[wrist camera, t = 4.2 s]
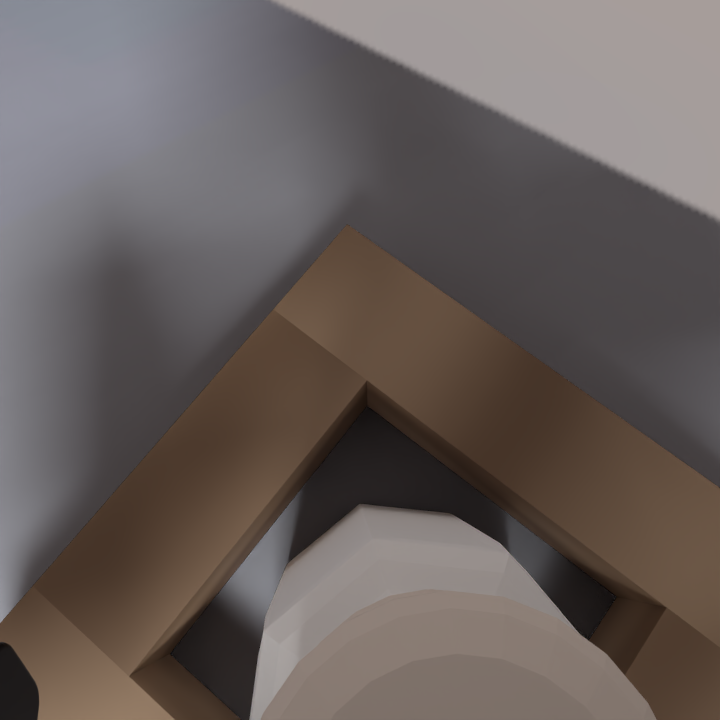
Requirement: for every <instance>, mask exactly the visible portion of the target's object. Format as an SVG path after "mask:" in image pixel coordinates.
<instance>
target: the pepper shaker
mask: <svg viewBox="0 0 720 720" xmlns="http://www.w3.org/2000/svg"><path fill="white" fill-rule="evenodd" d="M250 720H657V719H656V717H655V715H654V714H653V712H652V710H651V708H650V706H649V704H648V702H647V701H646V700H645V699H644V698H643V696H642V695H641V694H640V693H639V692H638V690H637V689H636V688H635V687H634V686H633V685H632V683H631V682H630V681H629V680H628V679H627V677H626V676H625V675H624V674H623V673H622V672H621V670H620V669H619V668H618V667H617V666H616V664H615V663H614V662H613V661H612V660H611V659H610V657H609V656H608V655H607V654H606V653H605V652H603V651H602V650H601V649H599V648H598V647H596V646H595V645H594V644H592V643H591V642H590V641H588V640H587V639H586V638H584V637H583V636H581V635H580V634H579V633H578V631H577V630H576V629H575V628H574V627H573V625H572V624H571V623H570V622H569V621H568V620H567V618H566V617H565V616H564V615H563V614H562V612H561V611H560V610H559V609H558V608H557V606H556V605H555V604H554V603H553V602H552V601H551V599H550V598H549V597H548V596H547V595H546V593H545V592H544V591H543V590H542V589H541V587H540V586H539V585H538V584H537V583H536V582H535V580H534V579H533V578H532V577H531V576H530V574H529V573H528V572H527V571H526V570H525V569H524V568H523V567H522V566H521V565H520V564H519V563H518V561H517V560H516V559H515V558H514V557H513V556H512V555H511V554H510V553H509V552H508V551H507V550H506V549H505V548H504V547H503V546H502V545H501V544H500V543H499V542H497V541H496V540H494V539H492V538H491V537H489V536H487V535H486V534H484V533H482V532H481V531H479V530H477V529H476V528H474V527H472V526H471V525H469V524H467V523H466V522H464V521H462V520H461V519H459V518H457V517H456V516H454V515H453V514H451V513H443V512H433V511H424V510H414V509H405V508H395V507H386V506H377V505H367V504H359V505H357V506H356V507H355V508H354V509H353V510H351V511H350V512H349V513H348V514H347V515H345V516H344V517H343V518H342V519H341V520H339V521H338V522H337V523H336V524H335V525H333V526H332V527H331V528H330V529H329V530H327V531H326V532H325V533H324V534H323V535H321V536H320V537H319V538H318V539H316V540H315V541H314V542H313V543H312V544H310V545H309V546H308V547H307V548H306V549H304V550H303V551H302V552H301V553H300V554H298V555H297V556H296V557H295V558H294V559H292V560H291V561H290V562H289V563H288V564H287V566H286V568H285V570H284V573H283V575H282V578H281V580H280V582H279V585H278V587H277V590H276V592H275V594H274V597H273V599H272V602H271V604H270V606H269V609H268V611H267V614H266V616H265V622H264V631H263V635H262V640H261V645H260V650H259V654H258V661H257V668H256V676H255V683H254V691H253V698H252V705H251V713H250Z"/></svg>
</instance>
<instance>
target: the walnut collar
mask: <svg viewBox="0 0 720 720" xmlns="http://www.w3.org/2000/svg"><path fill="white" fill-rule="evenodd" d="M367 406H368V407H370V408H371V409H372V410H374V411H375V412H376V413H378V414H379V415H380V416H381V417H383V418H384V419H385V420H387V421H388V422H389V423H391V424H392V425H393V426H395V427H396V428H397V429H398V430H400V431H401V432H402V433H404V434H405V435H406V436H408V437H409V438H410V439H411V440H413V441H414V442H415V443H417V444H418V445H419V446H421V447H422V448H423V449H425V450H426V451H427V452H428V453H430V454H431V455H432V456H434V457H435V458H436V459H438V460H439V461H440V462H442V463H443V464H444V465H445V466H447V467H448V468H449V469H451V470H452V471H453V472H455V473H456V474H457V475H459V476H460V477H461V478H462V479H464V480H465V481H466V482H468V483H469V484H470V485H472V486H473V487H474V488H475V489H477V490H478V491H479V492H481V493H482V494H483V495H485V496H486V497H487V498H489V499H490V500H491V501H492V502H494V503H495V504H496V505H498V506H499V507H500V508H502V509H503V510H504V511H506V512H507V513H508V514H509V515H511V516H512V517H513V518H515V519H516V520H517V521H519V522H520V523H521V524H522V525H524V526H525V527H526V528H528V529H529V530H530V531H532V532H533V533H534V534H536V535H537V536H538V537H539V538H541V539H542V540H543V541H545V542H546V543H547V544H549V545H550V546H551V547H553V548H554V549H555V550H556V551H558V552H559V553H560V554H562V555H563V556H564V557H566V558H567V559H568V560H569V561H571V562H572V563H573V564H575V565H576V566H577V567H579V568H580V569H581V570H583V571H584V572H585V573H586V574H588V575H589V576H590V577H592V578H593V579H594V580H596V581H597V582H598V583H600V584H601V585H602V586H603V587H605V588H606V589H607V590H609V591H610V592H611V593H613V594H614V595H615V596H616V597H617V598H616V599H615V601H614V602H613V604H612V605H611V607H610V608H609V610H608V612H607V613H606V615H605V616H604V618H603V619H602V621H601V622H600V624H599V626H598V627H597V629H596V630H595V632H594V633H593V635H592V636H591V638H590V640H589V641H590V642H591V643H592V644H594V645H595V646H596V647H598V648H599V649H601V650H602V651H603V652H605V653H606V654H607V655H608V656H609V657H610V659H611V660H612V661H613V662H614V663H615V664H616V666H617V667H618V668H619V669H620V670H621V672H622V673H623V674H624V675H625V676H626V677H627V679H628V680H629V681H630V682H631V683H632V685H633V686H634V687H635V688H636V689H637V690H638V692H639V693H640V694H641V695H642V696H643V698H644V699H645V700H646V701H647V702H648V704H649V706H650V708H651V710H652V712H653V714H654V715H655V717H656V719H657V720H720V488H719V487H718V486H717V485H715V484H714V483H712V482H711V481H709V480H708V479H707V478H705V477H704V476H702V475H701V474H700V473H698V472H697V471H695V470H694V469H692V468H691V467H690V466H688V465H687V464H685V463H684V462H683V461H681V460H680V459H678V458H677V457H676V456H674V455H673V454H671V453H670V452H668V451H667V450H666V449H664V448H663V447H661V446H660V445H659V444H657V443H656V442H654V441H653V440H651V439H650V438H649V437H647V436H646V435H644V434H643V433H642V432H640V431H639V430H637V429H636V428H635V427H633V426H632V425H630V424H629V423H627V422H626V421H625V420H623V419H622V418H620V417H619V416H618V415H616V414H615V413H613V412H612V411H610V410H609V409H608V408H606V407H605V406H603V405H602V404H601V403H599V402H598V401H596V400H595V399H594V398H592V397H591V396H589V395H588V394H586V393H585V392H584V391H582V390H581V389H579V388H578V387H577V386H575V385H574V384H572V383H571V382H569V381H568V380H567V379H565V378H564V377H562V376H561V375H560V374H558V373H557V372H555V371H554V370H553V369H551V368H550V367H548V366H547V365H545V364H544V363H543V362H541V361H540V360H538V359H537V358H536V357H534V356H533V355H531V354H530V353H528V352H527V351H526V350H524V349H523V348H521V347H520V346H519V345H517V344H516V343H514V342H513V341H512V340H510V339H509V338H507V337H506V336H504V335H503V334H502V333H500V332H499V331H497V330H496V329H495V328H493V327H492V326H490V325H489V324H487V323H486V322H485V321H483V320H482V319H480V318H479V317H478V316H476V315H475V314H473V313H472V312H471V311H469V310H468V309H466V308H465V307H463V306H462V305H461V304H459V303H458V302H456V301H455V300H454V299H452V298H451V297H449V296H448V295H447V294H445V293H444V292H442V291H441V290H439V289H438V288H437V287H435V286H434V285H432V284H431V283H430V282H428V281H427V280H425V279H424V278H422V277H421V276H420V275H418V274H417V273H415V272H414V271H413V270H411V269H410V268H408V267H407V266H406V265H404V264H403V263H401V262H400V261H398V260H397V259H396V258H394V257H393V256H391V255H390V254H389V253H387V252H386V251H384V250H383V249H381V248H380V247H379V246H377V245H376V244H374V243H373V242H372V241H370V240H369V239H367V238H366V237H365V236H363V235H362V234H360V233H359V232H357V231H356V230H355V229H353V228H352V227H350V226H349V225H348V224H347V225H346V226H345V227H344V228H343V230H342V231H341V232H340V233H339V234H338V235H337V236H336V238H335V239H334V240H333V241H332V242H331V243H330V245H329V246H328V247H327V248H326V249H325V250H324V251H323V253H322V254H321V255H320V256H319V257H318V258H317V260H316V261H315V262H314V263H313V264H312V265H311V266H310V268H309V269H308V270H307V271H306V272H305V273H304V274H303V276H302V277H301V278H300V279H299V280H298V281H297V283H296V284H295V285H294V286H293V287H292V288H291V289H290V291H289V292H288V293H287V294H286V295H285V296H284V297H283V299H282V300H281V301H280V302H279V303H278V304H277V306H276V307H275V308H274V309H273V310H272V311H271V312H270V314H269V315H268V316H267V317H266V318H265V319H264V320H263V322H262V323H261V324H260V325H259V326H258V327H257V329H256V330H255V331H254V332H253V333H252V334H251V335H250V337H249V338H248V339H247V340H246V341H245V342H244V343H243V345H242V346H241V347H240V348H239V349H238V350H237V352H236V353H235V354H234V355H233V356H232V357H231V358H230V360H229V361H228V362H227V363H226V364H225V365H224V366H223V368H222V369H221V370H220V371H219V372H218V373H217V375H216V376H215V377H214V378H213V379H212V380H211V381H210V383H209V384H208V385H207V386H206V387H205V388H204V389H203V391H202V392H201V393H200V394H199V395H198V396H197V398H196V399H195V400H194V401H193V402H192V403H191V404H190V406H189V407H188V408H187V409H186V410H185V411H184V413H183V414H182V415H181V416H180V417H179V418H178V419H177V421H176V422H175V423H174V424H173V425H172V426H171V427H170V429H169V430H168V431H167V432H166V433H165V434H164V436H163V437H162V438H161V439H160V440H159V441H158V442H157V444H156V445H155V446H154V447H153V448H152V449H151V450H150V452H149V453H148V454H147V455H146V456H145V457H144V459H143V460H142V461H141V462H140V463H139V464H138V465H137V467H136V468H135V469H134V470H133V471H132V472H131V473H130V475H129V476H128V477H127V478H126V479H125V480H124V482H123V483H122V484H121V485H120V486H119V487H118V488H117V490H116V491H115V492H114V493H113V494H112V495H111V496H110V498H109V499H108V500H107V501H106V502H105V503H104V505H103V506H102V507H101V508H100V509H99V510H98V511H97V513H96V514H95V515H94V516H93V517H92V518H91V519H90V521H89V522H88V523H87V524H86V525H85V526H84V528H83V529H82V530H81V531H80V532H79V533H78V534H77V536H76V537H75V538H74V539H73V540H72V541H71V542H70V544H69V545H68V546H67V547H66V548H65V549H64V551H63V552H62V553H61V554H60V555H59V556H58V557H57V559H56V560H55V561H54V562H53V563H52V564H51V566H50V567H49V568H48V569H47V570H46V571H45V572H44V574H43V575H42V576H41V577H40V578H39V579H38V580H37V582H36V583H35V584H34V585H33V586H32V587H31V589H30V590H29V591H28V592H27V593H26V594H25V595H24V597H23V598H22V599H21V600H20V601H19V602H18V603H17V605H16V606H15V607H14V608H13V609H12V610H11V612H10V613H9V614H8V615H7V616H6V617H5V618H4V620H3V621H2V622H1V623H0V642H5V643H7V644H9V645H11V647H12V648H13V649H14V651H15V652H16V654H17V655H18V657H19V658H20V659H21V661H22V662H23V664H24V665H25V667H26V668H27V670H28V671H29V673H30V674H31V676H32V677H33V679H34V680H35V682H36V684H37V687H38V691H39V711H38V720H241V719H240V718H239V717H238V716H237V715H236V714H235V713H234V712H232V711H231V710H230V709H229V708H228V707H227V706H226V705H225V704H224V703H223V702H222V701H220V700H219V699H218V698H217V697H216V696H215V695H214V694H213V693H212V692H211V691H210V690H208V689H207V688H206V687H205V686H204V685H203V684H202V683H201V682H200V681H199V680H198V679H196V678H195V677H194V676H193V675H192V674H191V673H190V672H189V671H188V670H187V669H186V668H184V667H183V666H182V665H181V664H180V663H179V662H178V661H177V660H176V659H175V658H174V657H172V656H171V655H170V653H171V652H172V650H173V649H174V648H175V647H176V645H177V644H178V643H179V642H180V640H181V639H182V638H183V637H184V635H185V634H186V633H187V632H188V630H189V629H190V628H191V627H192V625H193V624H194V623H195V621H196V620H197V619H198V618H199V616H200V615H201V614H202V613H203V611H204V610H205V609H206V608H207V606H208V605H209V604H210V603H211V601H212V600H213V599H214V598H215V596H216V595H217V594H218V593H219V591H220V590H221V589H222V588H223V586H224V585H225V584H226V583H227V581H228V580H229V579H230V577H231V576H232V575H233V574H234V572H235V571H236V570H237V569H238V567H239V566H240V565H241V564H242V562H243V561H244V560H245V559H246V557H247V556H248V555H249V554H250V552H251V551H252V550H253V549H254V547H255V546H256V545H257V544H258V542H259V541H260V540H261V539H262V537H263V536H264V535H265V534H266V532H267V531H268V530H269V528H270V527H271V526H272V525H273V523H274V522H275V521H276V520H277V518H278V517H279V516H280V515H281V513H282V512H283V511H284V510H285V508H286V507H287V506H288V505H289V503H290V502H291V501H292V500H293V498H294V497H295V496H296V495H297V493H298V492H299V491H300V490H301V488H302V487H303V486H304V485H305V483H306V482H307V481H308V479H309V478H310V477H311V476H312V474H313V473H314V472H315V471H316V469H317V468H318V467H319V466H320V464H321V463H322V462H323V461H324V459H325V458H326V457H327V456H328V454H329V453H330V452H331V451H332V449H333V448H334V447H335V446H336V444H337V443H338V442H339V441H340V439H341V438H342V437H343V435H344V434H345V433H346V432H347V430H348V429H349V428H350V427H351V425H352V424H353V423H354V422H355V420H356V419H357V418H358V417H359V415H360V414H361V413H362V412H363V410H364V409H365V408H366V407H367Z"/></svg>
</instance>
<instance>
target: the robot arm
mask: <svg viewBox="0 0 720 720" xmlns="http://www.w3.org/2000/svg"><path fill="white" fill-rule="evenodd" d="M38 711H39V691H38V687H37V684H36V682H35V680H34V679H33V677H32V676H31V674H30V673H29V671H28V670H27V668H26V667H25V665H24V664H23V662H22V661H21V659H20V658H19V657H18V655H17V654H16V652H15V651H14V649H13V648H12V647H11V645H9V644H7V643H5V642H0V720H38Z"/></svg>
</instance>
